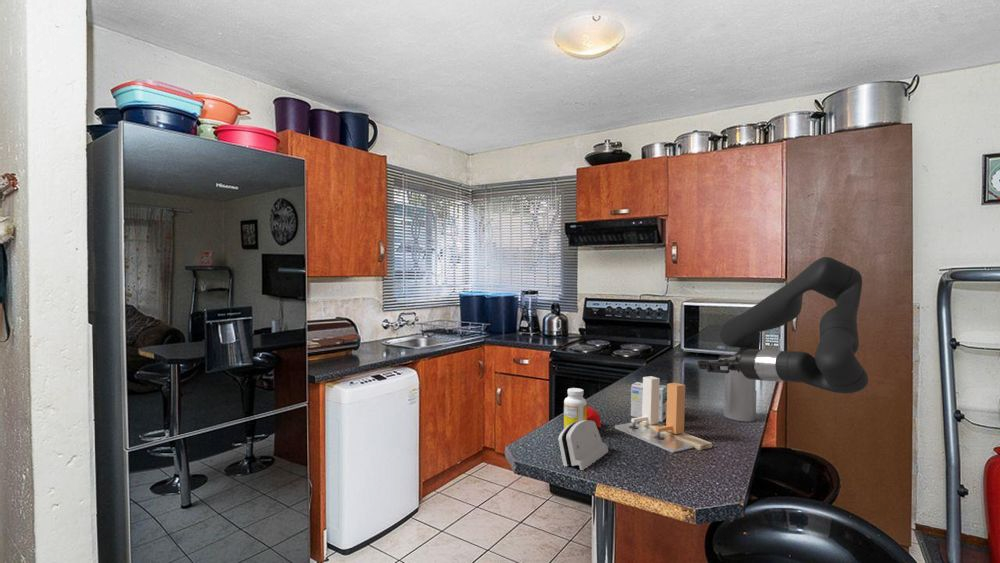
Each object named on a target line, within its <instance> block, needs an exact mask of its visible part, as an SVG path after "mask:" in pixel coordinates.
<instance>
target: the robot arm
mask: <svg viewBox="0 0 1000 563" xmlns="http://www.w3.org/2000/svg"><path fill="white" fill-rule="evenodd" d="M862 288H863V276H862V274H861V272H860V271H858V270H857V269H856V268H854V267H852V266H850V265H848V264H846V263H844V262H841V261H840V260H837V259H835V258H832V257H830V256H824V257H820V258H817V259H816V260H815V261H813V262H812V263H811V264H809V265H808V266H807V267H806V268H805V269H804V270H802V271H801V272H800V273H799V274H798V275H797V276H795V277H794V278H793V279H792V280H790V281H788V283H787V284H785V285H783V286H782V287H781V288H779V289H777V290H776V291H775V292H772V293H771V294H769V295H767V296H766V297H764V298H763V299H762V300H760V302H758V303H756V304H755V305H753V306H751V308H749V309H746V311H745V312H743V313H741V314H739V315H737V316H735V317H732V318H730V319H728V320H727V321H725V322H724V323H723V324H722V326H721V328H720V332H719V336H720V340H721V342H722V343H723V344H724V345H725V346H727V347H730V348H739V349H738V351H737V352H736V353H734V354H732V355H719V356H718V359H717V360H712V359H711V360H704V359H703V360H700V359H699V360H697V366H698V369H699V370H706V372H707V373H716V374H717V373H718V374H724V376H725V377H724V409H723V415H724V417H725V418H726V419H729V420H734V421H738V422H745V423H746V422H754V421H755V419H756V418H757V390H756V386H757V384H756V383H757V381H765V382H775V383H776V382H778V383H779V382H789V383H803V384H806V385H809V386H811V387H813V388H818V389H822V390H824V391H829V392H833V393H837V394H854V393H858V392H860V391H862V390H864V389H865V388H866V387H867V386H868V383H869V376H868V374H867V371H866V370H865V368H864V367H863V365H862V364H861V363H860V361H859V360H858V359H857V357H856V353H857V352H858V350H859V345H860V340H859V339H860V338H859V330H858V313H859V308H860V307H859V306H860V301H861V295H862ZM808 291H814V292H816V293H818V294H820V295H822V296H824V297H826V298H829V299H831V300H833V301H834V302H835V305H836V306H834V307H832V308H830V309H829V310H827V311H826V312H825V313H824V314H823V316H822V317H821V319H820V322H819V342H818V344H817V348H816V350H815V352H814V356H813V355H812V354H811V353H809V352H805V351H799V350H798V351H797V350H796V351H793V350H779V349H778V350H777V349H760V346H761V332H767V331H769V330H774V329H777V328H780V327H782V326H785V325H786V324H788V323H790V322H791V321H793V320H795V319H797V318H798V317H799V315H800V314H801V310H802V306H803V297H804V294H805V293H806V292H808Z"/></svg>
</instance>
